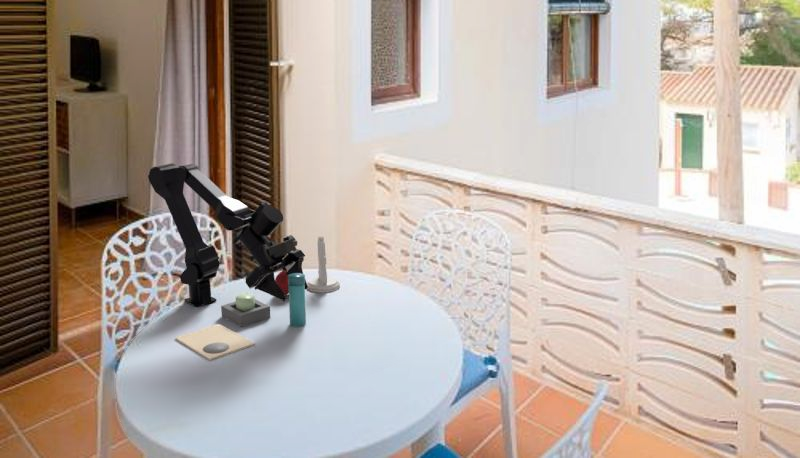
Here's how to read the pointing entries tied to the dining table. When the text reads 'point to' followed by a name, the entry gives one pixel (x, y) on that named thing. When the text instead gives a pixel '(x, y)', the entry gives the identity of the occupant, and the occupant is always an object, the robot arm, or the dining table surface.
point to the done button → (245, 302)
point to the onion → (283, 282)
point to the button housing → (245, 313)
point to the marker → (297, 299)
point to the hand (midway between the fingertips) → (296, 294)
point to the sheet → (214, 341)
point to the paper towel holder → (322, 273)
